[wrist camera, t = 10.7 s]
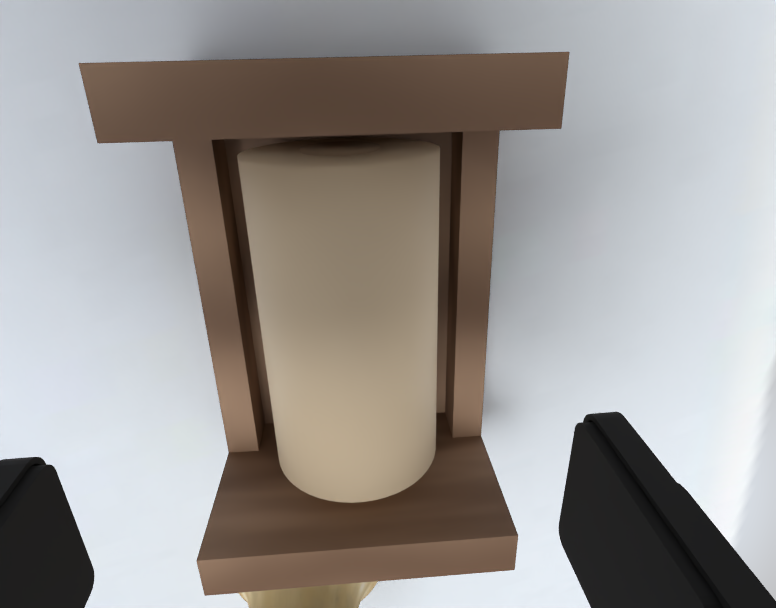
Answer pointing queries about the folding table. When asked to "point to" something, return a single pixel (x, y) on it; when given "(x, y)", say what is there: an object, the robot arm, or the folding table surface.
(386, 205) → the paper roll
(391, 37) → the folding table surface
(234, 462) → the roll cradle
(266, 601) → the hand bell
